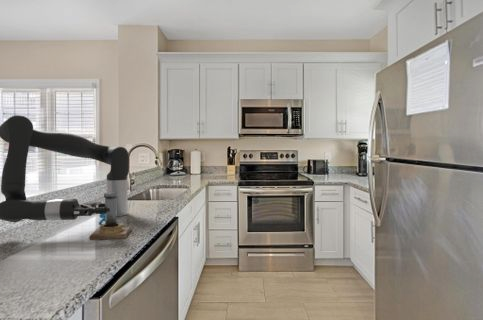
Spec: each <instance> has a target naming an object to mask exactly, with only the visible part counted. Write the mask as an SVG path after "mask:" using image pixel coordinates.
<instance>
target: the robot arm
mask: <svg viewBox="0 0 483 320" xmlns="http://www.w3.org/2000/svg"><path fill="white" fill-rule="evenodd" d="M0 139H2V141H4V142H6V143H8V149H7V154H6V158H5V160H4V164H3V168H2V174H1V182H0V183H1V184H0V185H1V186H0V191H1V194H2V195H3V196H4V198H5V200H3V201H1V202H0V220H1V221H5V222H10V223H19V222H21V221H22V220H32V221H72V220H74V221H75V220H77V218H78V217H92V216H94V215H96V214H97V215H101V214H106V213H107V207H105V202H103V203H102V201H95V202H83V203H81V204H79V200H78V199H77V198H66V199H65V198H61V199H60V198H58V199H51V200H50V199H49V200H28V199H27V195H26V175H27V161H28V154H29V149H30V147H31V148H38V149H43V150H47V151H51V152H55V153H59V154H62V155H66V156H71V157H75V158H81V159H82V158H83V159H90V160H96V161H98V162H101V163H104V164H107V165H110V170H109V172H108V173H107V174H106V193H112V192H115V193H118V196H117V217H122V216H126V215H128V175H129V171H130V155H129V151H128V150H127V149H126V148H125V147H123V146H109V145H108V146H107V145H103V144H98V143H95V142H92V141H91V140H89V139H88V138H85V137H84V136H83V137H82V136H80V135H78V134H73V133H70V132H63V131H43V130H38V129H34V124H33V122H32V120H31V119H29V118H28V117H26V116H25V115H21V114H14V115H12V116H10V117H8V118H7V119H6V120H5V121H4V122H2V123H1V124H0Z"/></svg>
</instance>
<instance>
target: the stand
mask: <svg viewBox="0 0 483 320" xmlns="http://www.w3.org/2000/svg"><path fill="white" fill-rule="evenodd" d="M123 225H124V224H123V223H121V222H117V226H115V227H105V223H104V224H100V225H99V227H97V228H96V229H95V230H94V231H93V232H92V233H90V235H89V240H90V241H95V240H112V239H114V240H115V239H116V240H117V239H126V238H127V237H128V236H129V233H130V232H131V229H132V226H131V225H124V226H123Z"/></svg>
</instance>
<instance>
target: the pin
mask: <svg viewBox="0 0 483 320" xmlns="http://www.w3.org/2000/svg"><path fill="white" fill-rule="evenodd" d="M117 196H118V193H115V192H112V193H107V192H104V193H103V198H104V203H105V207H107V213H106V214H105V221H104V224H105V227H115V226H117V223H118V222H117V221H118V216H117Z"/></svg>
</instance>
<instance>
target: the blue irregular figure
mask: <svg viewBox="0 0 483 320" xmlns="http://www.w3.org/2000/svg"><path fill="white" fill-rule="evenodd" d="M99 218H101V220H100V221H98V224H99V225H102V223H103V222H105V214H99ZM117 223H119V221H118V220H117Z"/></svg>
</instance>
